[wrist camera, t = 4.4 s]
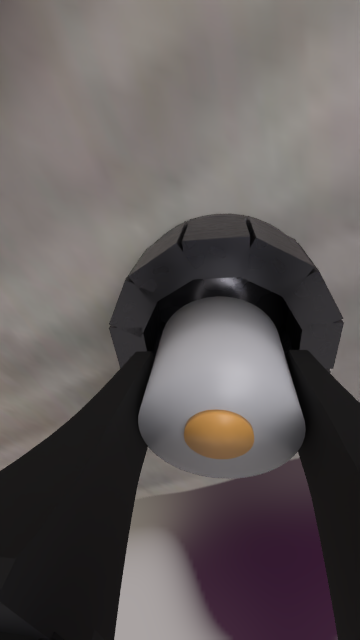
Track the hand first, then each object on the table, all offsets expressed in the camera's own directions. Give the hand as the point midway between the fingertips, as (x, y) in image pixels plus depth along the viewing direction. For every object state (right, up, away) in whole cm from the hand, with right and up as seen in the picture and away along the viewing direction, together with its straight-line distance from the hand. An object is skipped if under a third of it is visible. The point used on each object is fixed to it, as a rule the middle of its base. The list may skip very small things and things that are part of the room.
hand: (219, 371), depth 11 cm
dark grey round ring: (+1, +3, +4) cm, 5 cm away
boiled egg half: (0, +1, +1) cm, 1 cm away
